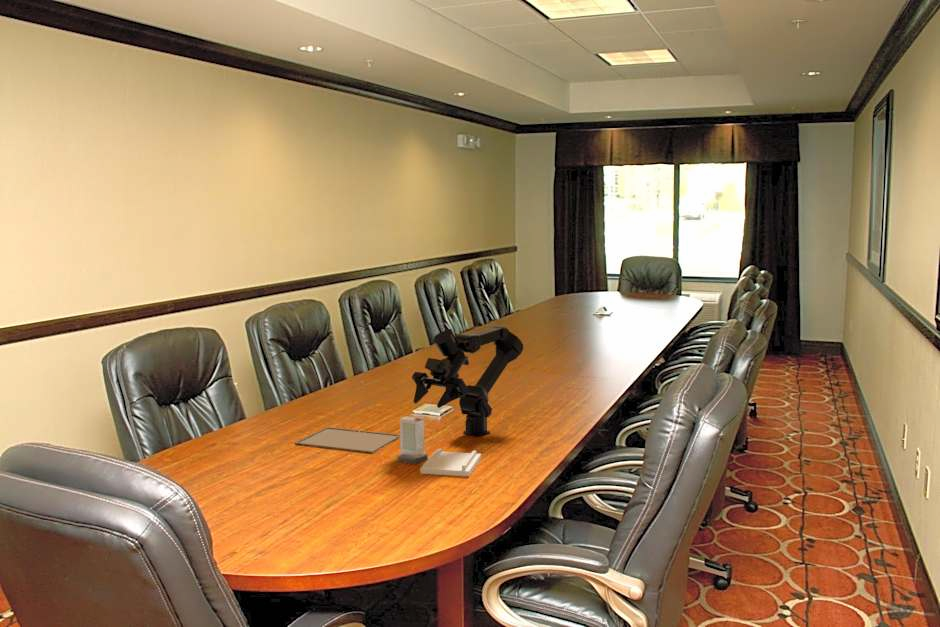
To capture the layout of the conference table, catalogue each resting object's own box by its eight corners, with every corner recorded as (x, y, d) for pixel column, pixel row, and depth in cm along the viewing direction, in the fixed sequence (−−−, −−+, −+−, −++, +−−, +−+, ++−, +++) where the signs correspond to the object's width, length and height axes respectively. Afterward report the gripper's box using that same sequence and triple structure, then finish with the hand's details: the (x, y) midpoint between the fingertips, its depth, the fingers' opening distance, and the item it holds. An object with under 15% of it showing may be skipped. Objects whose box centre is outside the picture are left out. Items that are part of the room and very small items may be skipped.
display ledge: (435, 456, 249) (435, 447, 249) (481, 458, 246) (481, 449, 246) (420, 473, 234) (420, 464, 233) (469, 476, 230) (468, 467, 230)
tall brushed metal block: (410, 455, 250) (409, 415, 248) (427, 459, 246) (426, 418, 244) (397, 460, 245) (396, 419, 243) (414, 464, 241) (413, 422, 240)
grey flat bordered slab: (401, 437, 270) (327, 430, 280) (401, 434, 270) (327, 427, 280) (373, 454, 252) (294, 445, 263) (372, 451, 252) (294, 442, 263)
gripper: (417, 345, 259) (391, 383, 251) (464, 351, 248) (439, 391, 240) (432, 369, 266) (407, 406, 258) (478, 376, 255) (454, 415, 247)
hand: (426, 404), depth 250 cm, fingers open, 9 cm apart
